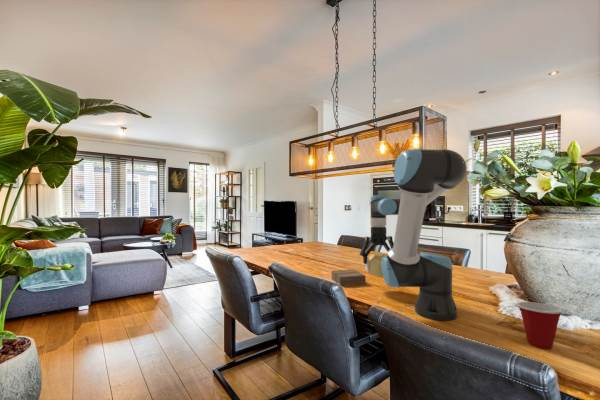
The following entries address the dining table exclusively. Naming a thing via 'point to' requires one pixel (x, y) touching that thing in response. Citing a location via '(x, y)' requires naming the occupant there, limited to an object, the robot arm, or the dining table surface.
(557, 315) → the plastic cup
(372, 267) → the sculpture
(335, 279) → the walnut block
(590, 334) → the dining table surface
